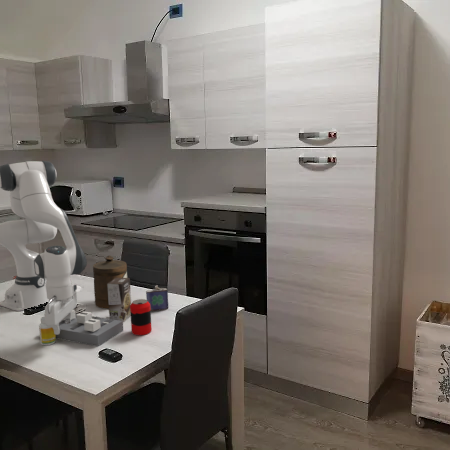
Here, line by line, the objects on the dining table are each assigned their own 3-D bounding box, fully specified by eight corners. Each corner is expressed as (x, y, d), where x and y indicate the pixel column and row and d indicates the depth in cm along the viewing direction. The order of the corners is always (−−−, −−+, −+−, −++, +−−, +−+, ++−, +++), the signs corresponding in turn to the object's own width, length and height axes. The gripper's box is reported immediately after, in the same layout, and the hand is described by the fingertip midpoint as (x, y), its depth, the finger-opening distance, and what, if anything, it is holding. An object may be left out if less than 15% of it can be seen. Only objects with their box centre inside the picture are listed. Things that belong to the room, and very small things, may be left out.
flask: (147, 311, 208) (146, 287, 206) (146, 309, 210) (145, 285, 209) (168, 309, 210) (167, 285, 208) (167, 307, 213) (166, 283, 211)
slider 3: (84, 330, 178) (84, 321, 177) (91, 326, 181) (91, 317, 181) (93, 331, 176) (92, 323, 175) (100, 327, 180) (100, 319, 179)
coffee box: (124, 322, 196) (121, 284, 193) (109, 321, 197) (106, 283, 195) (132, 314, 205) (130, 277, 202) (118, 313, 206) (116, 277, 203)
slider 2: (76, 322, 185) (76, 314, 185) (83, 318, 189) (83, 310, 188) (85, 323, 184) (84, 315, 183) (92, 320, 187) (91, 311, 187)
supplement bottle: (38, 342, 179) (35, 318, 177) (52, 338, 182) (49, 314, 181) (44, 347, 175) (42, 321, 173) (58, 342, 179) (56, 317, 177)
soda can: (131, 336, 182) (129, 305, 180) (131, 328, 190) (129, 299, 187) (152, 334, 184) (150, 304, 182) (151, 326, 191) (149, 297, 189)
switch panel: (31, 333, 187) (30, 323, 186) (59, 320, 201) (58, 310, 200) (98, 346, 174) (97, 335, 173) (123, 330, 188) (122, 320, 187)
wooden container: (132, 305, 217) (130, 257, 213) (99, 311, 210) (95, 261, 206) (123, 295, 230) (121, 250, 226) (92, 301, 223) (88, 254, 219)
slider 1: (60, 319, 189) (59, 311, 188) (67, 316, 192) (66, 308, 192) (68, 321, 187) (67, 312, 186) (75, 317, 190) (74, 309, 190)
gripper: (56, 301, 163) (59, 340, 165) (78, 283, 183) (81, 318, 186) (38, 301, 163) (41, 340, 166) (62, 283, 183) (65, 317, 186)
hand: (62, 328), depth 176 cm, fingers open, 8 cm apart
